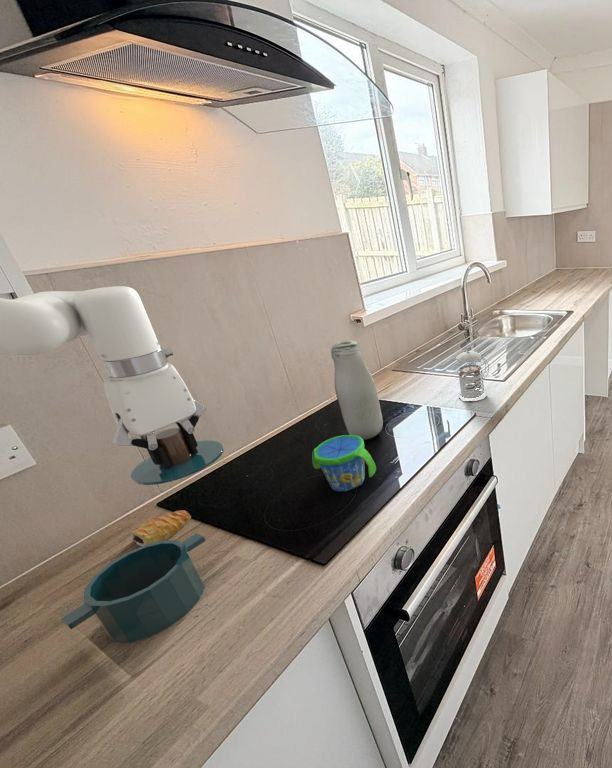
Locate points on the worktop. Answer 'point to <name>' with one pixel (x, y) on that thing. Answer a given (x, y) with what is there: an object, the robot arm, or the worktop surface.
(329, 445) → the snack cup
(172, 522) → the pastry
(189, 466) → the lid
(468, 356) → the french press
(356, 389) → the glass bottle
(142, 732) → the worktop surface
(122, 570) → the pot
